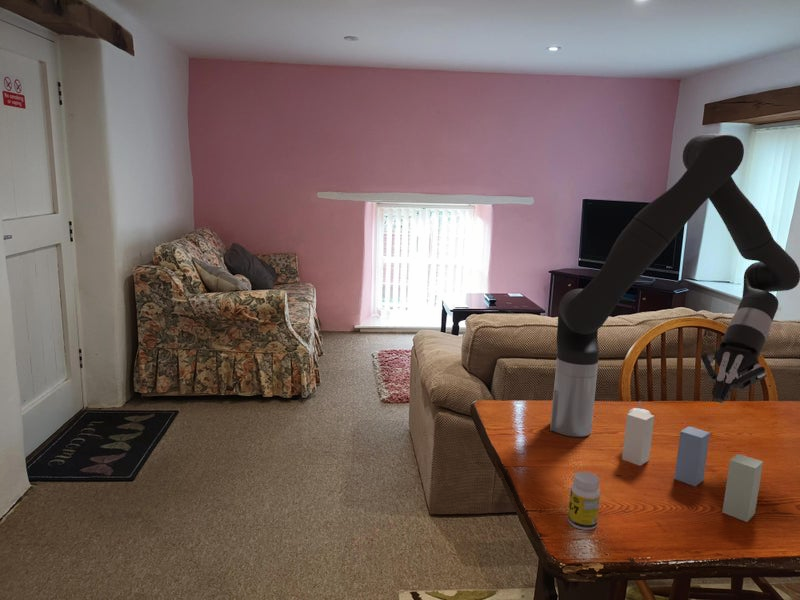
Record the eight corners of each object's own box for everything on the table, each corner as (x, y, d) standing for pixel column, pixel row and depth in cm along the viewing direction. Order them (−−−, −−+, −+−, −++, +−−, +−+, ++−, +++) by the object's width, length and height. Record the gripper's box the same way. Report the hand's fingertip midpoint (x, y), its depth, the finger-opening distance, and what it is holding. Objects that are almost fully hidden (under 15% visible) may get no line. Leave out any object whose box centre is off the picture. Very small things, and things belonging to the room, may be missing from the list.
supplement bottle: (563, 515, 102) (567, 470, 101) (590, 514, 103) (594, 470, 101) (573, 531, 97) (578, 484, 96) (601, 530, 98) (606, 483, 96)
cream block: (621, 459, 125) (626, 414, 123) (630, 453, 127) (635, 409, 126) (640, 465, 122) (645, 420, 120) (649, 460, 125) (654, 415, 123)
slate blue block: (674, 478, 117) (680, 431, 115) (682, 472, 120) (688, 426, 118) (695, 486, 114) (701, 437, 112) (703, 480, 117) (710, 432, 115)
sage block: (722, 512, 105) (730, 459, 103) (730, 504, 108) (738, 453, 106) (746, 522, 102) (755, 468, 100) (754, 514, 105) (763, 461, 103)
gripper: (710, 317, 129) (680, 382, 123) (779, 329, 120) (750, 399, 114) (716, 337, 134) (688, 400, 128) (783, 350, 124) (756, 419, 118)
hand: (717, 400), depth 121 cm, fingers closed
